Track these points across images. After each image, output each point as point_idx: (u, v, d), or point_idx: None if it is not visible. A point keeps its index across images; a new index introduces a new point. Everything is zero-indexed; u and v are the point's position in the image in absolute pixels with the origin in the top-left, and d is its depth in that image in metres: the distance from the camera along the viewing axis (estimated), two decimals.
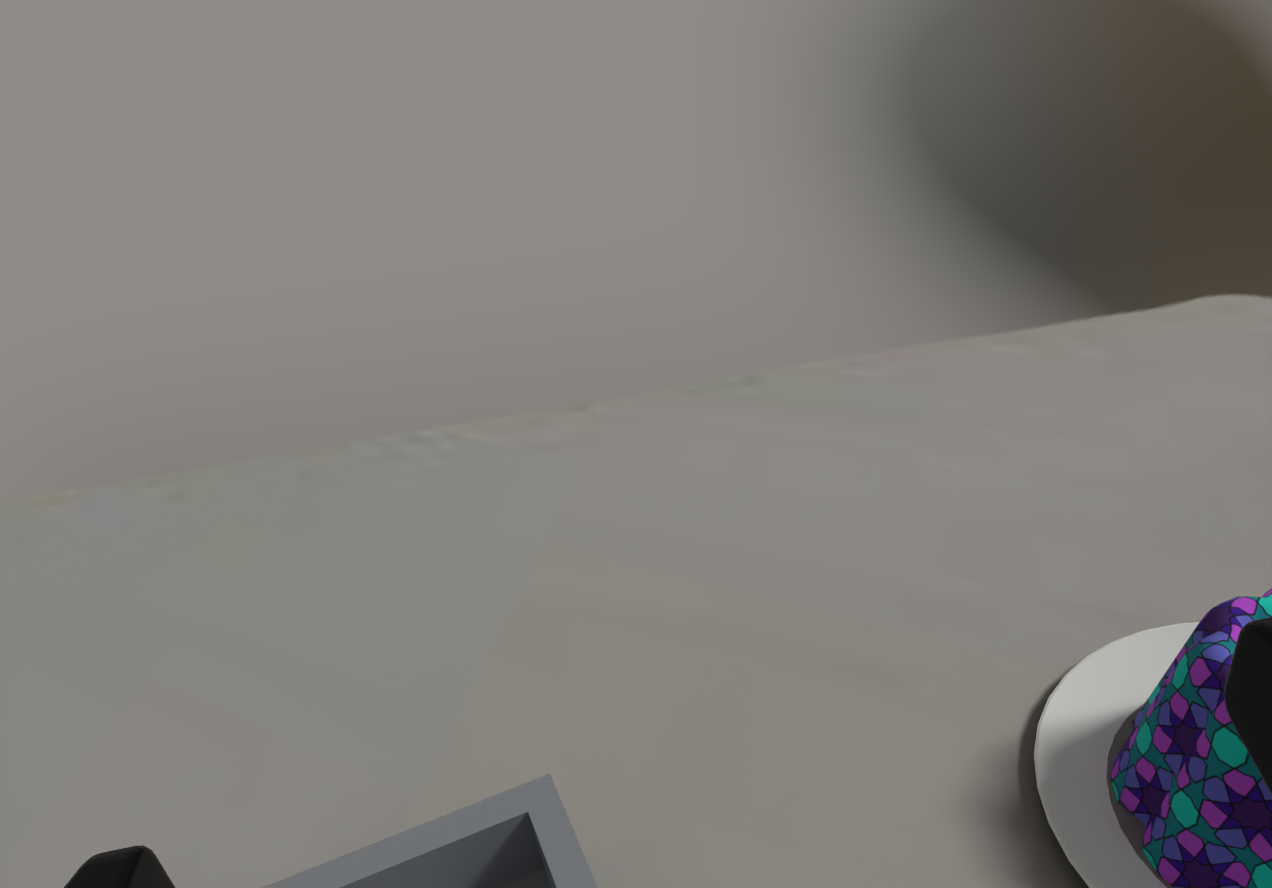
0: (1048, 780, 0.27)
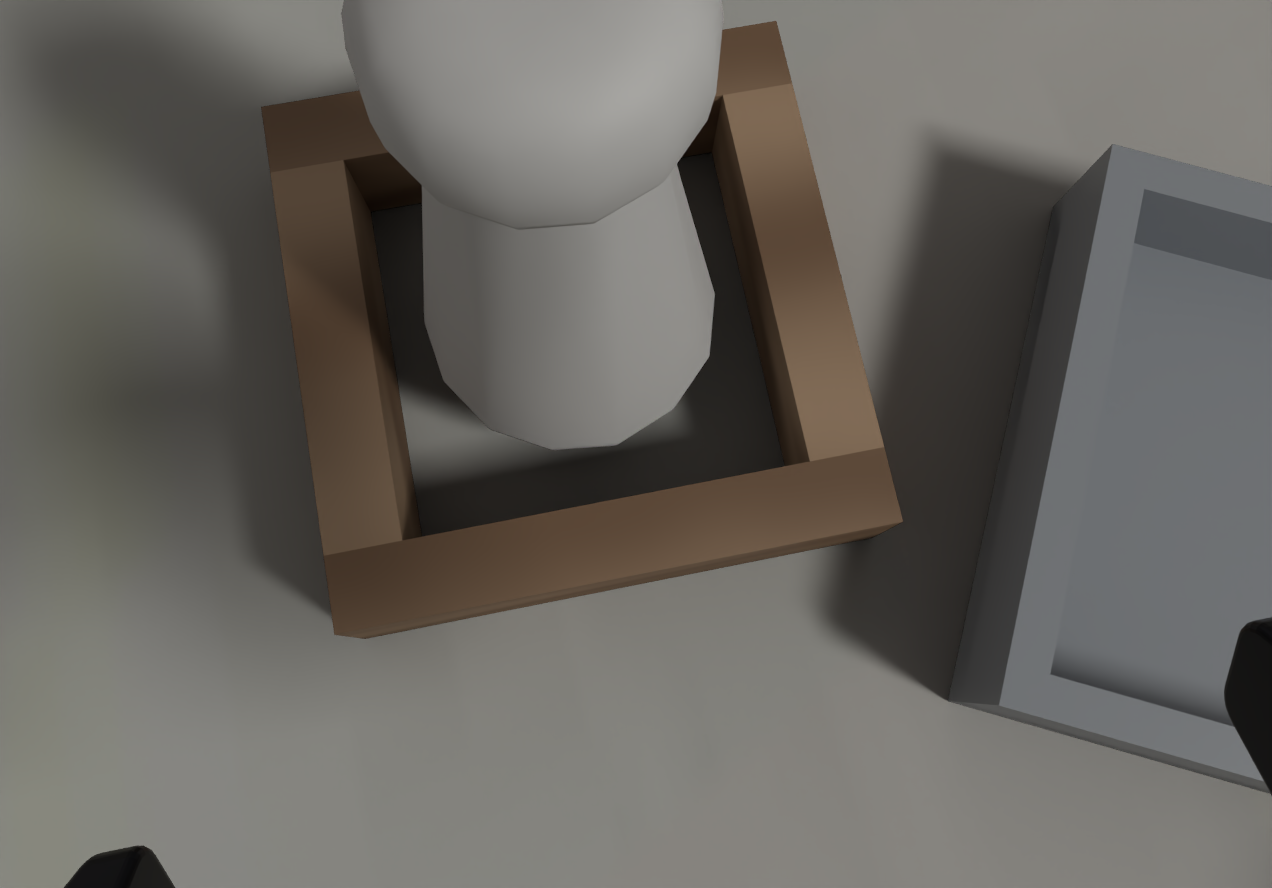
0: None
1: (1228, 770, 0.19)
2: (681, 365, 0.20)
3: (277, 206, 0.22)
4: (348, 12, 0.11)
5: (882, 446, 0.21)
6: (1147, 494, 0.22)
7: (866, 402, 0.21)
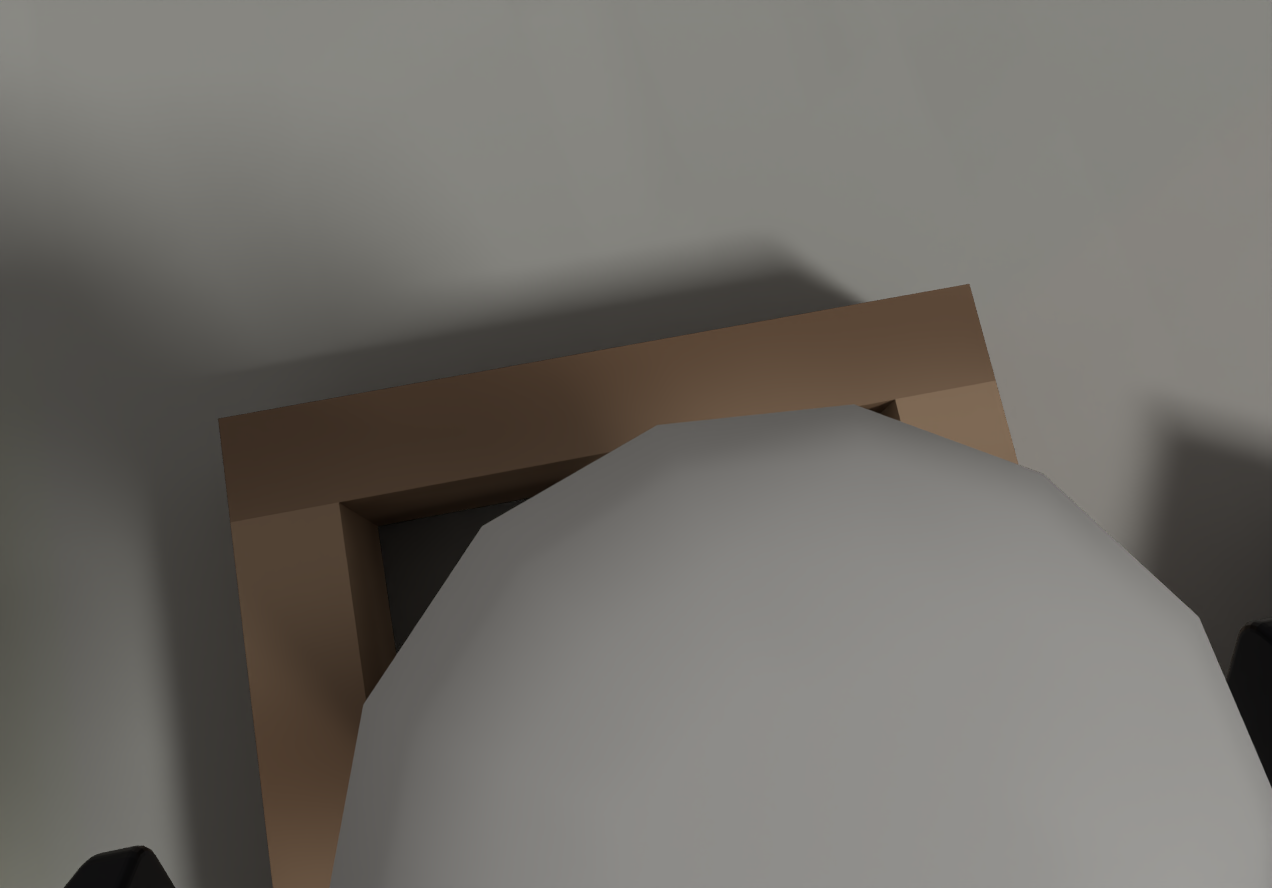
0: None
1: None
2: None
3: (239, 572, 0.15)
4: None
5: None
6: None
7: None
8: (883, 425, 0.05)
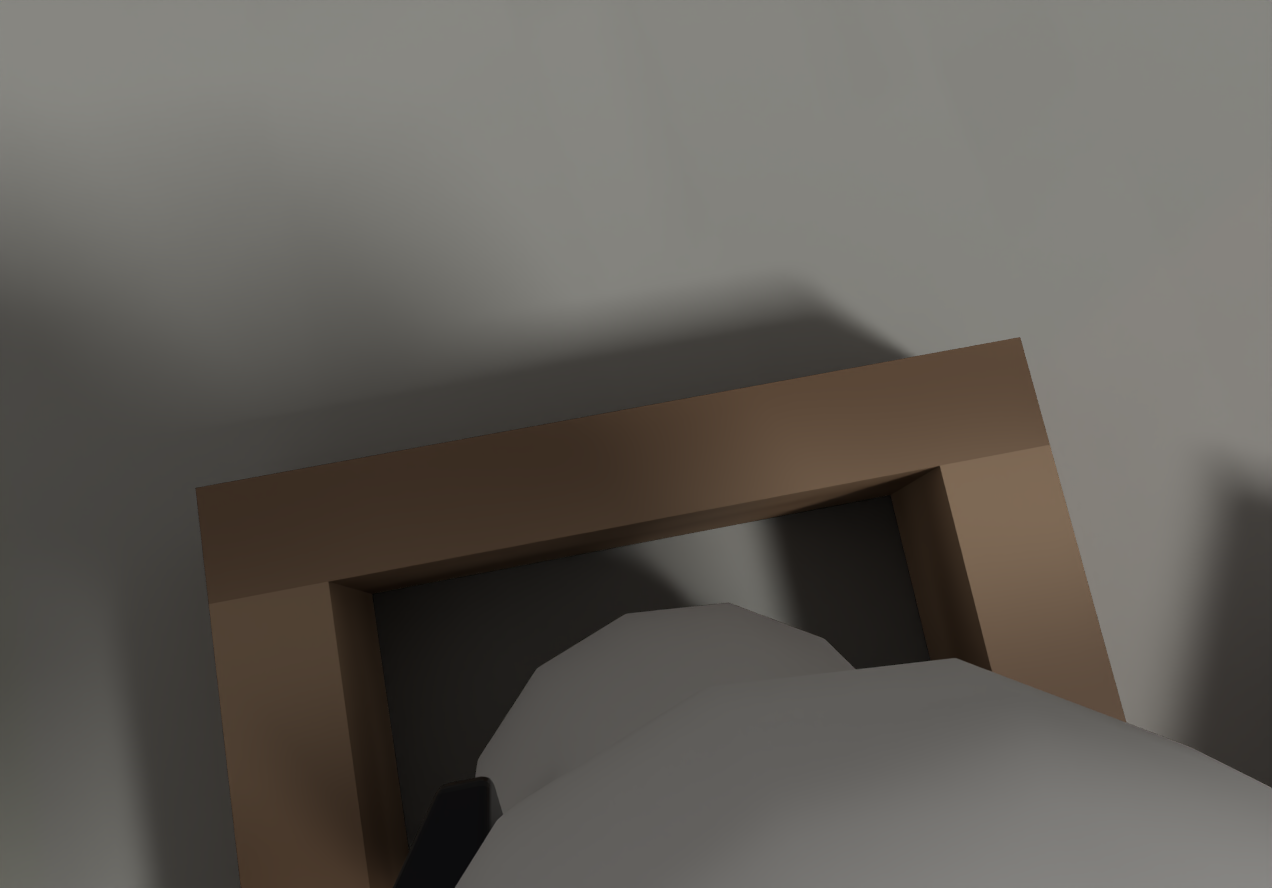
0: None
1: None
2: None
3: (219, 659, 0.13)
4: None
5: None
6: None
7: None
8: (1062, 731, 0.03)
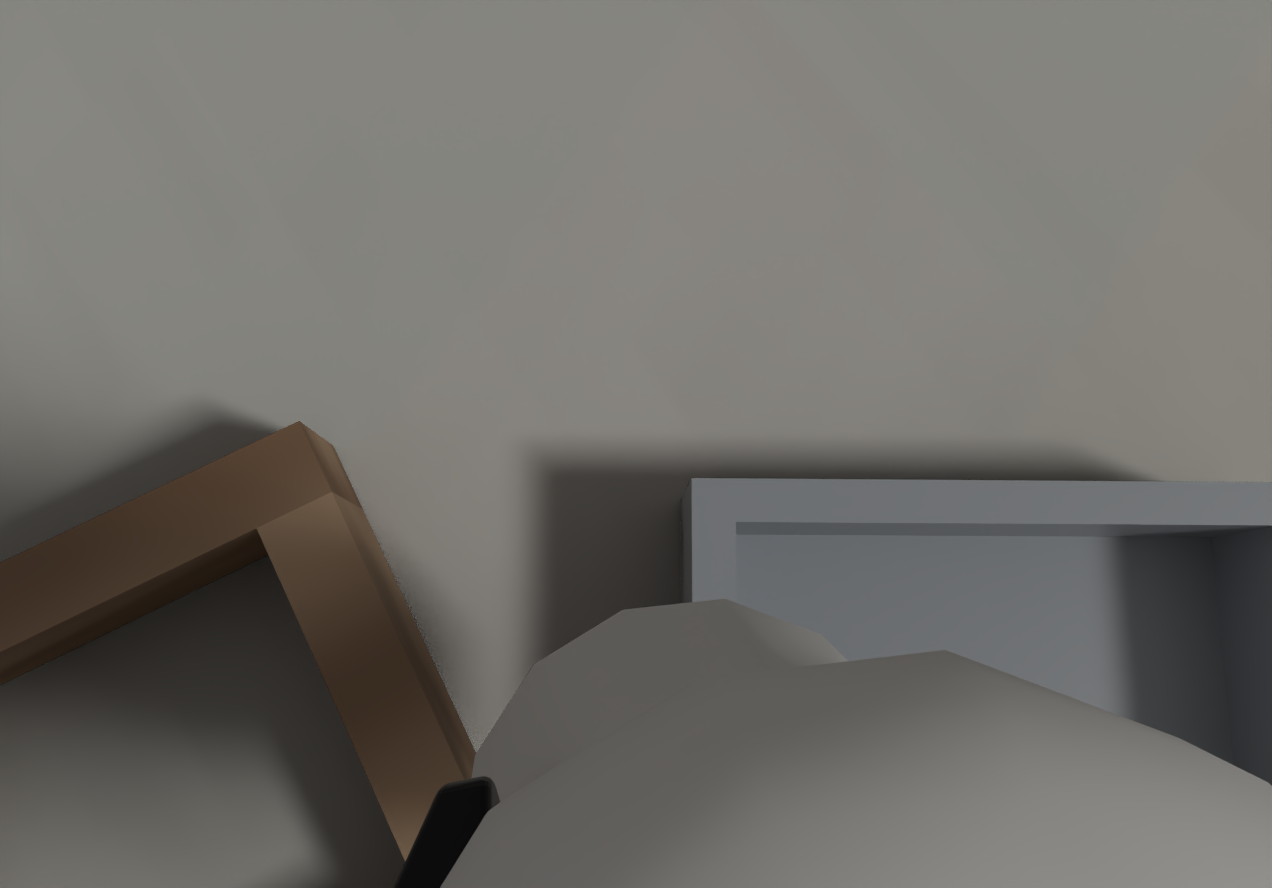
0: None
1: None
2: None
3: None
4: None
5: None
6: None
7: None
8: (1049, 721, 0.03)
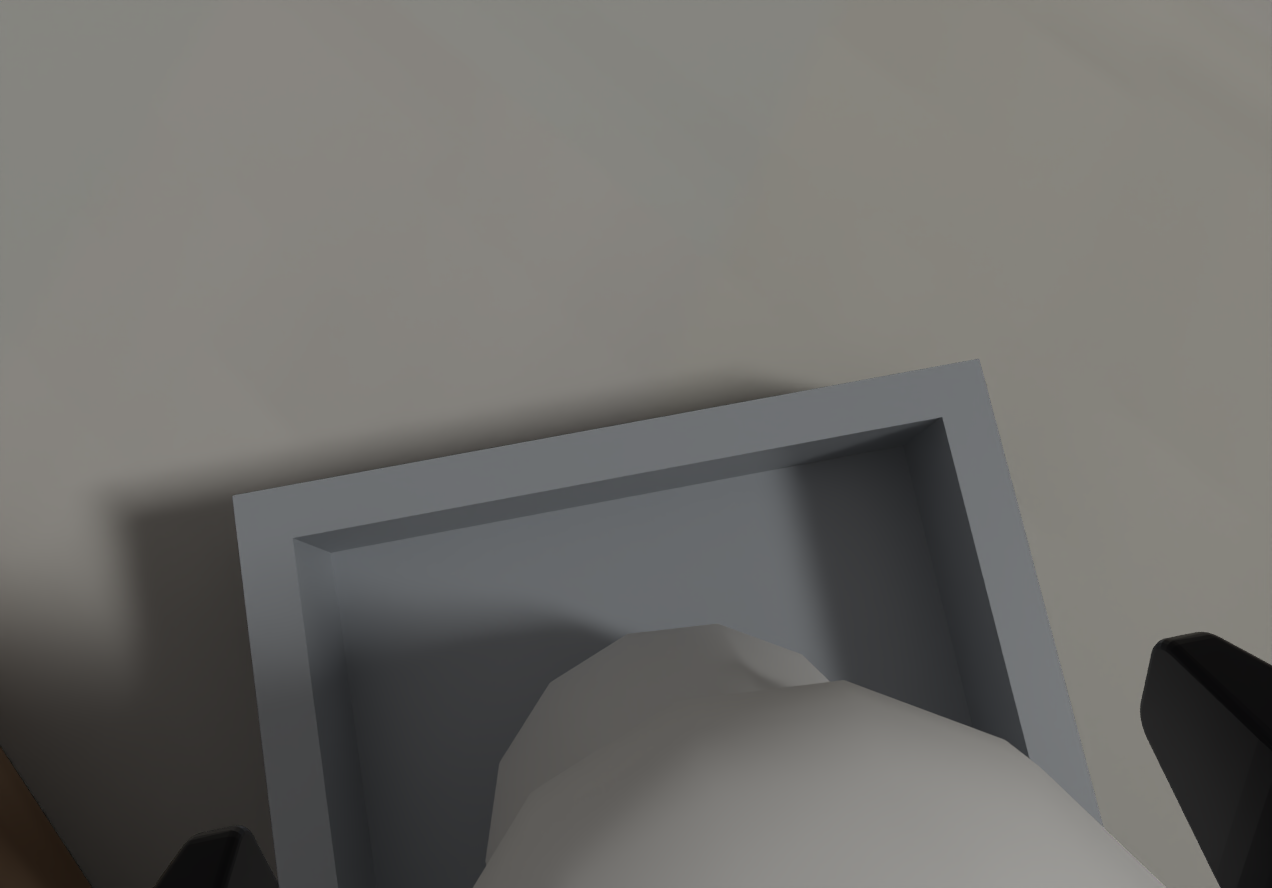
0: None
1: None
2: None
3: None
4: None
5: None
6: None
7: None
8: (895, 729, 0.05)
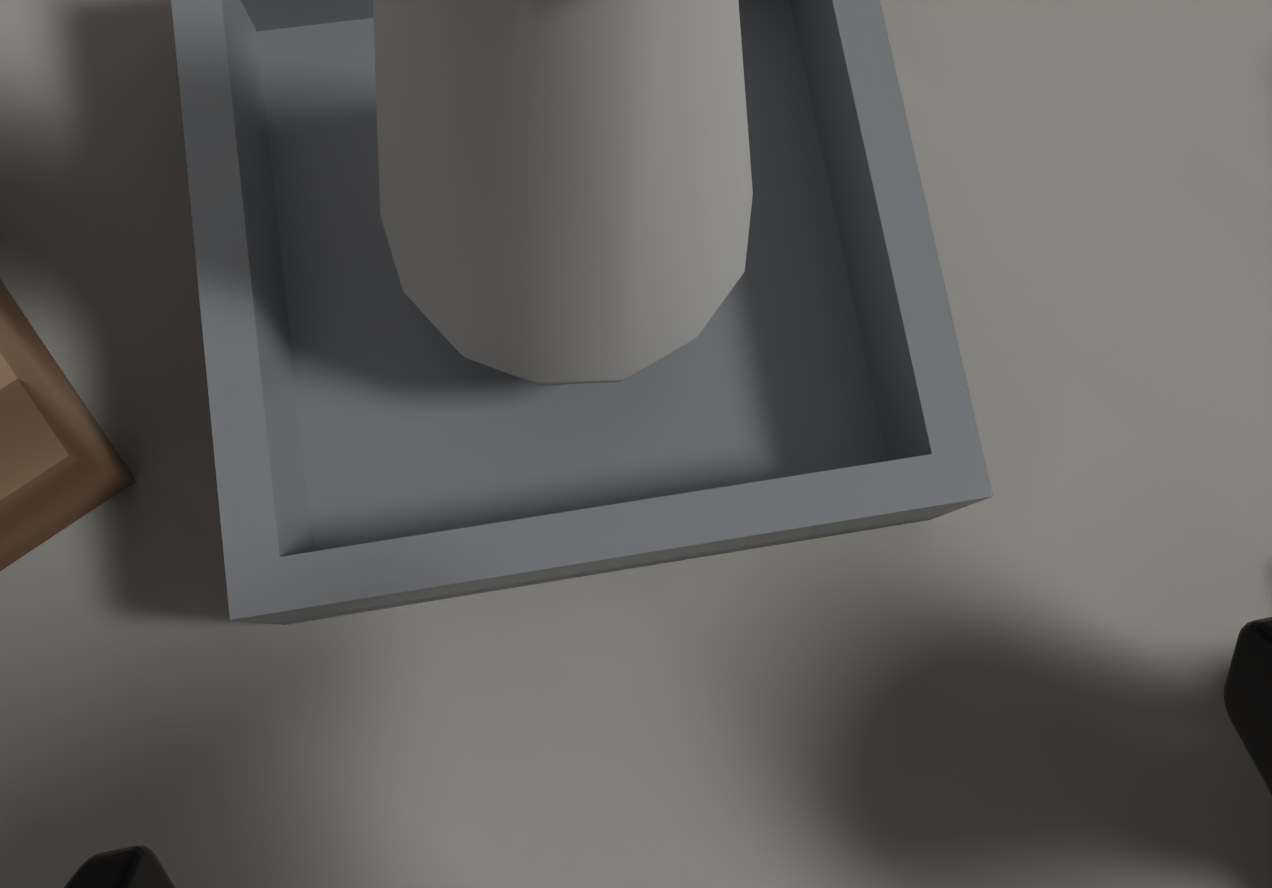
0: None
1: (519, 572, 0.16)
2: (712, 276, 0.15)
3: None
4: None
5: (16, 378, 0.16)
6: None
7: None
8: None
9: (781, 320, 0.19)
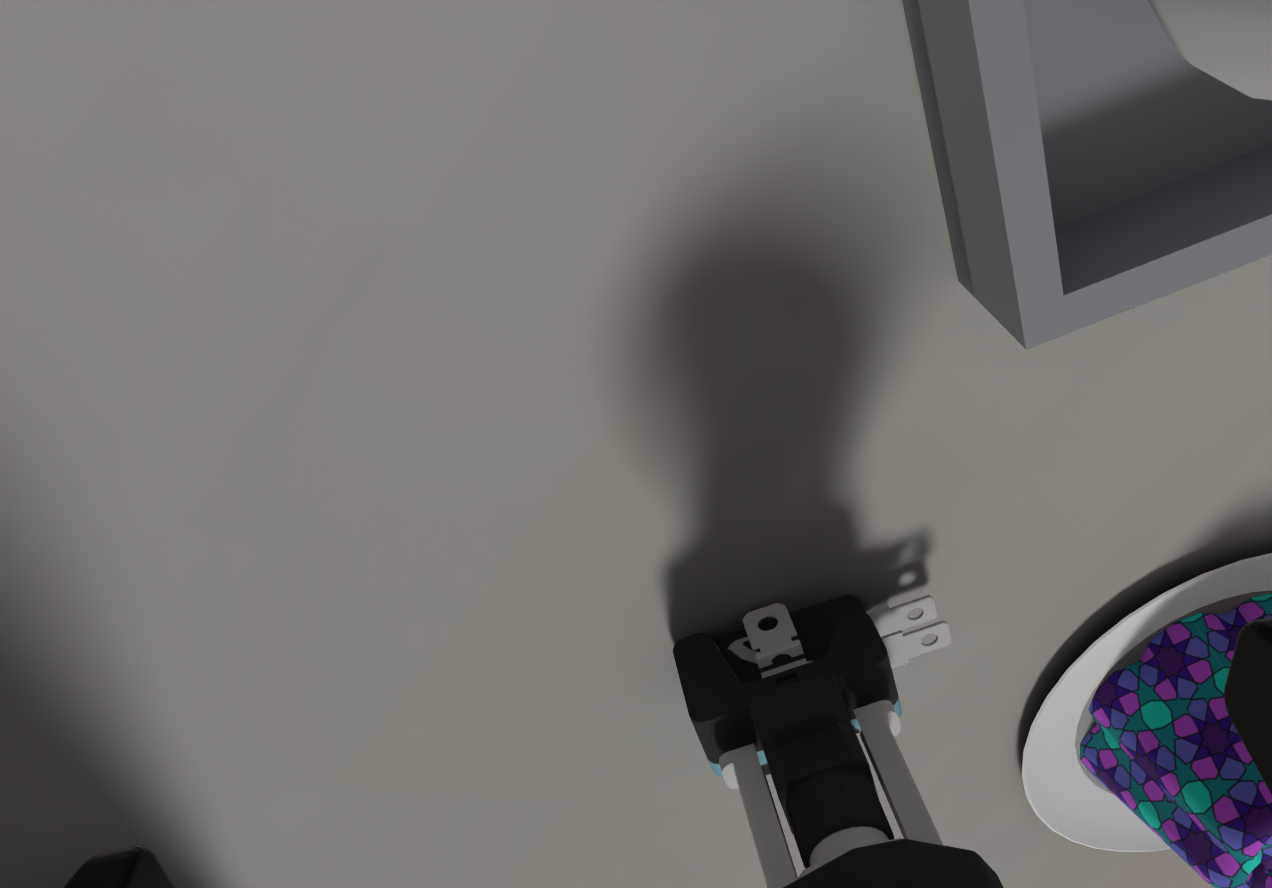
0: None
1: None
2: None
3: None
4: None
5: None
6: None
7: None
8: None
9: (1158, 118, 0.19)
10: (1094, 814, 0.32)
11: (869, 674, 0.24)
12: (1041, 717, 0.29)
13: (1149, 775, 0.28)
